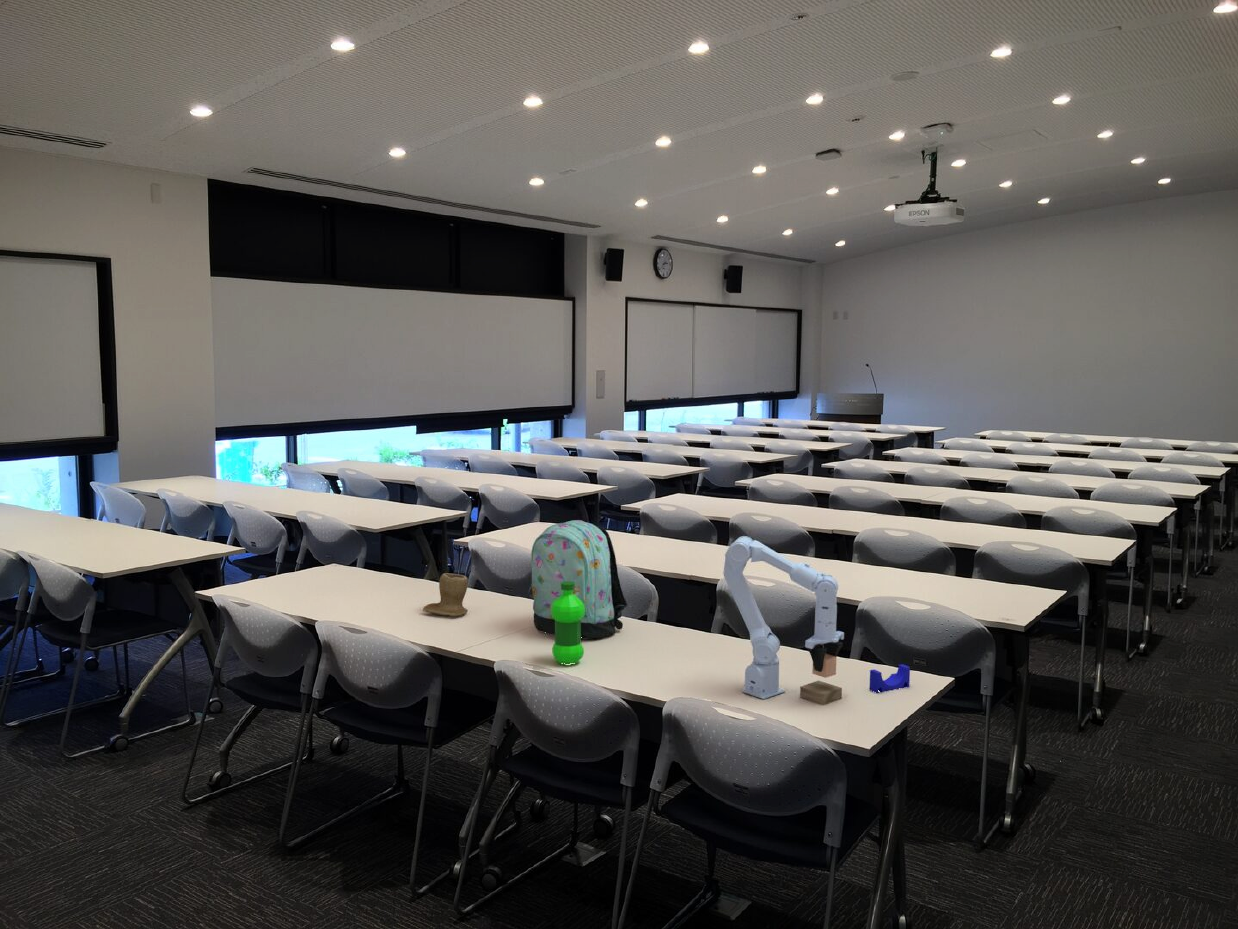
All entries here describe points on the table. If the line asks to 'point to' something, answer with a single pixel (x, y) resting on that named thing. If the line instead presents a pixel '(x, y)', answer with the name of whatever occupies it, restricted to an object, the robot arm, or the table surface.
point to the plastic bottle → (567, 625)
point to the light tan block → (827, 667)
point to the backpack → (577, 576)
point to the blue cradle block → (890, 680)
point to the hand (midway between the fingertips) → (823, 669)
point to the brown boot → (450, 595)
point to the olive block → (820, 692)
